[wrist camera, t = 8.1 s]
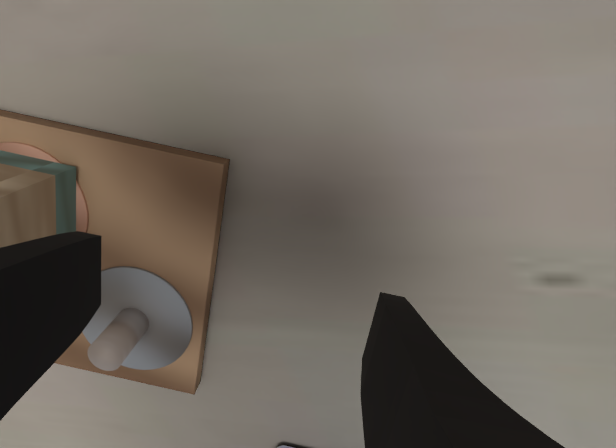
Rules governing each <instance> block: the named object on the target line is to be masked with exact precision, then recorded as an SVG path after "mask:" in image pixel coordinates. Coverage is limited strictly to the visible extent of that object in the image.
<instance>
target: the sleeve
mask: <svg viewBox="0 0 616 448" xmlns="http://www.w3.org/2000/svg"><path fill="white" fill-rule="evenodd" d="M75 231H76V167H75V166H70V165H66V164H61V163H56V162H52V161H47V160H43V159H38V158H34V157H29V156H24V155H20V154H15V153H11V152H6V151H1V150H0V248H1V247H5V246H9V245H14V244H18V243H22V242H26V241H30V240H34V239H39V238H43V237H47V236H52V235H56V234H62V233H67V232H75Z"/></svg>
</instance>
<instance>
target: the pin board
mask: <svg viewBox="0 0 616 448" xmlns="http://www.w3.org/2000/svg"><path fill="white" fill-rule="evenodd" d="M0 150H1V151H6V152H11V153H15V154H20V155H24V156H29V157H34V158H38V159H43V160H47V161H52V162H56V163H61V164H66V165H70V166H75V167H76V231H80V232H85V233H90V234H95V235H100V236H101V305H100V307H99V308H98V310H97V311H96V313H95V314H94V316H93V317H92V319H91V320H90V322H89V323H88V325H87V326H86V327H85V329H84V330H83V331H82V333H81V334H80V335H79V337H78V338H77V339H76V340H75V341H74V342H73V343H72V344H71V345H70V346H69V347H68V349H67V350H66V351H65V352H64V353H63V354H62V355H61V356H60V357H59V358H58V359H57V360H56V361H55V362H54V363H57V364H62V365H66V366H70V367H75V368H79V369H84V370H88V371H93V372H97V373H101V374H106V375H110V376H115V377H119V378H124V379H128V380H133V381H137V382H141V383H146V384H150V385H155V386H159V387H164V388H168V389H172V390H177V391H181V392H186V393H190V394H195V392H196V390H197V388H198V385H199V383H200V379H201V372H202V364H203V357H204V349H205V342H206V334H207V327H208V319H209V311H210V304H211V296H212V289H213V281H214V274H215V266H216V259H217V251H218V244H219V236H220V228H221V221H222V213H223V206H224V198H225V191H226V183H227V176H228V168H229V161H230V159H226V158H221V157H216V156H212V155H207V154H203V153H198V152H193V151H189V150H184V149H179V148H175V147H170V146H166V145H161V144H156V143H152V142H147V141H142V140H138V139H133V138H129V137H124V136H119V135H115V134H110V133H106V132H101V131H96V130H92V129H87V128H82V127H78V126H73V125H69V124H64V123H59V122H55V121H50V120H45V119H41V118H36V117H32V116H27V115H22V114H18V113H13V112H8V111H4V110H0Z"/></svg>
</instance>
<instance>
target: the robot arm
mask: <svg viewBox="0 0 616 448" xmlns="http://www.w3.org/2000/svg"><path fill="white" fill-rule="evenodd" d="M100 305H101V236H100V235H95V234H90V233H85V232H80V231H75V232H67V233H62V234H56V235H52V236H47V237H43V238H39V239H34V240H30V241H26V242H22V243H18V244H14V245H9V246H5V247H1V248H0V420H1V419H2V418H3V417H4V416H5V415H6V414H7V412H8V411H9V410H10V409H11V408H12V407H13V406H14V404H15V403H16V402H17V401H18V400H19V399H20V398H21V397H22V396H23V395H24V394H25V393H26V392H27V391H28V390H29V389H30V388H31V387H32V386H33V384H34V383H35V382H36V381H37V380H38V379H39V378H40V377H41V376H42V375H43V374H44V373H45V372H46V371H47V370H48V369H49V368H50V367H51V366H52V365H53V363H54V362H55V361H56V360H57V359H58V358H59V357H60V356H61V355H62V354H63V353H64V352H65V351H66V350H67V349H68V347H69V346H70V345H71V344H72V343H73V342H74V341H75V340H76V339H77V338H78V337H79V335H80V334H81V333H82V331H83V330H84V329H85V327H86V326H87V325H88V323H89V322H90V320H91V319H92V317H93V316H94V314H95V313H96V311H97V310H98V308H99V307H100ZM361 405H362V417H363V429H364V440H365V448H564V447H563V446H562V445H560V444H559V443H557V442H556V441H554V440H553V439H551V438H550V437H548V436H547V435H546V434H544V433H543V432H542V431H540V430H539V429H538V428H536V427H535V426H534V425H532V424H531V423H530V422H528V421H527V420H526V419H524V418H523V417H522V416H520V415H519V414H518V413H516V412H515V411H514V410H513V409H511V408H510V407H509V406H508V405H506V404H505V403H504V402H503V401H502V400H501V399H499V398H498V397H497V396H496V395H495V394H494V393H493V392H491V391H490V390H489V389H488V388H487V387H486V386H485V385H483V384H482V383H481V382H480V381H479V380H478V379H477V378H476V377H475V376H474V375H473V374H472V373H471V372H470V371H469V370H468V369H467V368H466V367H465V366H464V365H463V364H462V363H461V362H460V361H459V360H458V359H457V358H456V357H455V356H454V355H453V354H452V353H451V351H450V350H449V349H448V348H447V347H446V346H445V345H444V344H443V343H442V341H441V340H440V339H439V338H438V337H437V336H436V334H435V333H434V332H433V331H432V330H431V329H430V327H429V326H428V325H427V324H426V322H425V321H424V320H423V319H422V318H421V316H420V315H419V314H418V313H417V311H416V310H415V309H414V308H413V306H412V305H411V304H410V303H409V302H408V301H407V299H406V298H405V297H401V296H396V295H391V294H386V293H381V292H380V295H379V299H378V303H377V306H376V310H375V314H374V317H373V321H372V325H371V328H370V332H369V336H368V339H367V343H366V347H365V350H364V354H363V358H362V373H361ZM277 448H294V447H290V446H284V445H282V446H279V447H277Z"/></svg>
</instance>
